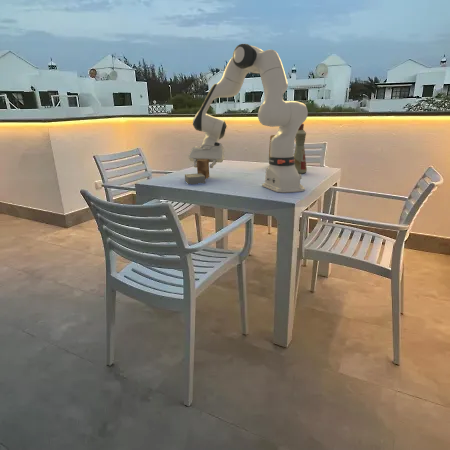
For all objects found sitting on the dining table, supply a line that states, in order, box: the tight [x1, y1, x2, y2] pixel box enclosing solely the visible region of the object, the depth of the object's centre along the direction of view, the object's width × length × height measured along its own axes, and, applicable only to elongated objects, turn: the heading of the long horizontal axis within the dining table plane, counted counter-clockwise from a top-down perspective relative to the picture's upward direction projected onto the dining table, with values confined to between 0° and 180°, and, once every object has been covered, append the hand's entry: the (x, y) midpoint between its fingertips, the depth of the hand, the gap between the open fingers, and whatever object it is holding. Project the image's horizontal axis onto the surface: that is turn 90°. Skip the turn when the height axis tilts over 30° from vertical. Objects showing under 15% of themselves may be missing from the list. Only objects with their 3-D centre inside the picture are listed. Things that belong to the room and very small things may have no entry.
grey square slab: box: [184, 173, 206, 185], centre depth 174 cm, size 9×9×4 cm
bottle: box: [293, 123, 307, 175], centre depth 189 cm, size 9×9×28 cm
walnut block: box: [196, 159, 210, 180], centre depth 183 cm, size 5×5×10 cm
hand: (203, 167), depth 183 cm, fingers open, 8 cm apart
